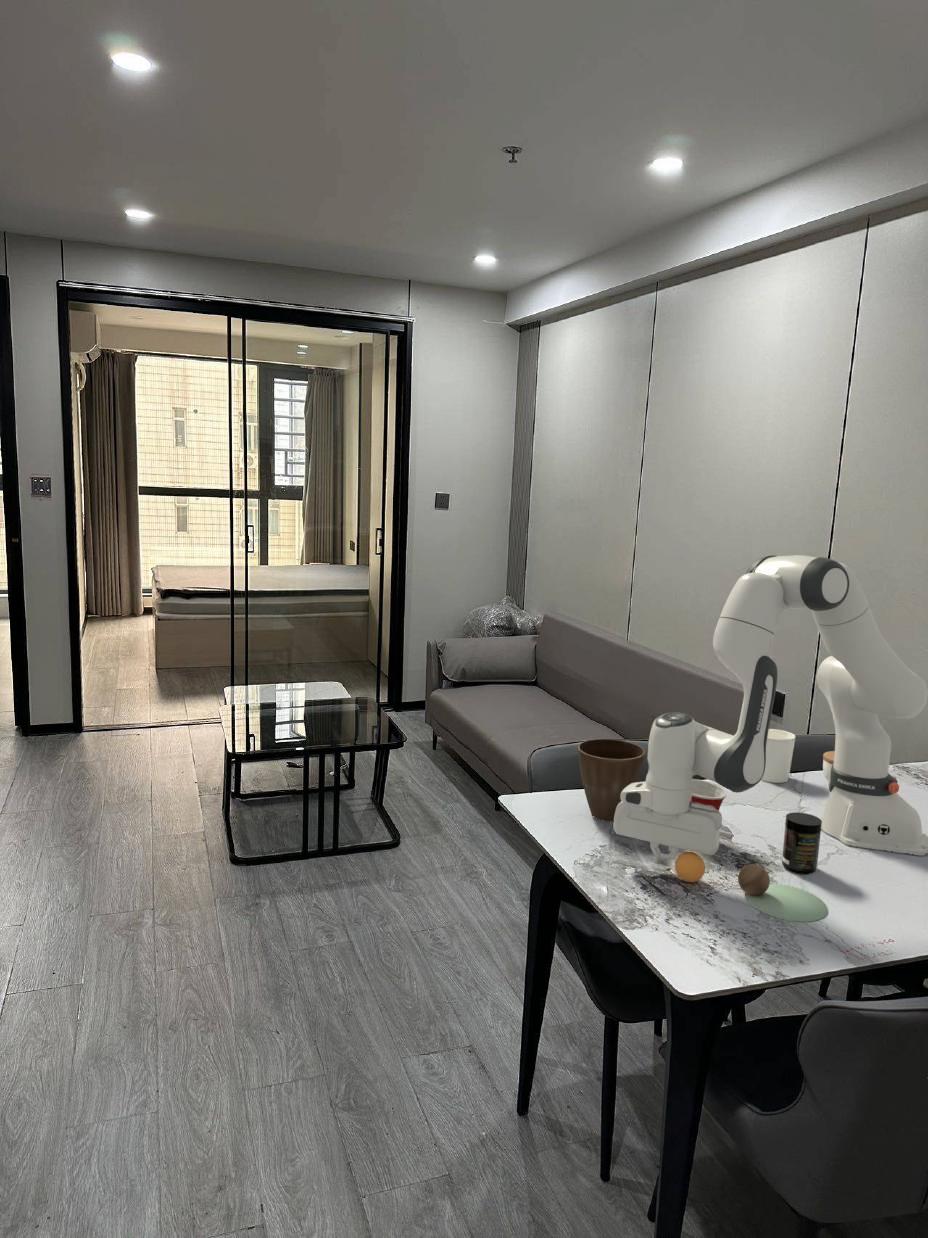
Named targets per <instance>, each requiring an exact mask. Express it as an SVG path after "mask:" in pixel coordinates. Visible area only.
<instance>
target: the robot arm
mask: <svg viewBox="0 0 928 1238" xmlns="http://www.w3.org/2000/svg"><path fill="white" fill-rule="evenodd" d="M853 572H854V571H852V569H851V568H850V567H849V566H848V565H847V564H845V563H843V562H839V561H836V560H834V559H832V558H828V557H822V556H821V557H820V556H819V557H815V556H810V555H803V554H801V555H800V554H794V555H767V556H763V557H759V558H758V559H756V560H754V562H752V563H751V565H750V566H749V567H748V569H746V572H745V574H743V575H741V576H740V577H739V578H738V579H737V581H736V583H734V585H733V588H732V589H731V590H730V593H729V595H728V596H727V598H726V601H725V603H724V606H723V608H722V610H721V613H720V616H719V618H718V621H717V624H716V627H715V629H714V633H713V637H712V646H713V650H714V653H715V655H716V657H717V658H718V660H719V661H720V663H722V665H723V666H725V668H726V669H727V670H729V671H730V673H733V675H735V676H736V677H737V678H738V679H739V681H740V683H741V686H742V688H743V699H742V703H741V704H742V705H741V711H740V715H739V720H738V721H739V722H738V726H737V731H736V733H735V734H734V735H733V734H730V733H727V732H725V731H721V730H719V729H716V728H713V727H710V726H707V725H705V724H702V723H699V722H697V721H695V719H694V718H693V716H691V715H690V714H688V713H683V712H678V711H677V712H666V713H663V714H661V715H658V716H656V718H655V719H654V720H653V722H652V725H651V729H650V734H649V737H648V744H647V745H648V747H647V756H646V757H647V759H646V760H647V763H648V770H647V774H646V776H645V781H638V782H636V783H631V784H630V785H628V786H627V787H625V788H624V789H623V791H622V792H621V795H620V799H621V802H620V803H619V804H618V805H617V808H616V811H615V816H614V822H613V824H612V825H613V826H612V827H613V830H614V832H615V834H616V835H620V836H624V837H628V838H634V839H637V840H640V841H641V840H642V841H647V842H650V843H649V844H650V845H649V847H650V849H651V851H652V853H653V855H654V864H655V865H658V866H659V865H660V866H663V867H667V868H670V867H671V866H672V861H673V857H674V855H676V853H677V851H678V850H679V849H680V850H684V851H688V852H693V853H696V854H703V855H708V856H713V855H714V854H715V853H716V852H717V851H719V847H720V828H721V827H722V824H723V823H722V821H723V816H722V813H721V811H720V810H719V811H718V810H717V809H715V807H714V806H711V805H704V804H700V803H696V802H692V801H691V800H692V787H693V781H692V779H693V776H697V775H698V777H702V778H704V779H706V780H709V781H710V782H711V781H712V782H714V783H716V784H717V785H719V786H720V787H722V788H724V789H726V790H729V791H731V792H733V793H742V792H746V791H748V790H750V789H752V788H754V787H755V786H756V785H757V784H759V783H760V782H761V781H762V780H761V779H762V777H763V775H764V772H765V765H766V743H767V737H768V731H769V729H770V726H771V719H772V714H773V708H774V702H775V697H776V692H777V691H776V690H777V686H778V685H777V684H778V676H779V675H778V666H777V665H776V662H775V661H774V660H773V651H772V650H773V642H774V639H775V636H776V633H777V630H778V626H779V623H780V620H781V615H782V613H783V612H784V611H785V610H790V611H791V610H792V611H793V610H800V611H809V610H810V611H811V614H812V618H813V620H814V622H815V624H816V627H817V630H818V632H819V635H820V637H821V640H822V643H823V645H824V647H825V650H826V651H827V652H828V654H829V656H828V657H826V658H825V659H823V661H822V662H821V663H820V665H819V667H818V669H817V673H816V683H817V686H818V689H819V690H820V691H821V692H822V693H823V695H824V697H825V698H826V700H827V703H828V705H829V708H830V712H831V714H832V719H833V723H834V731H835V732H834V733H835V739H834V740H835V741H834V742H835V744H834V751H835V754H834V765H832V767H831V770H830V776H829V782H828V791H829V794H828V797H827V803H826V806H825V808H824V811H823V814H822V816H821V818H820V819H821V820H822V827H821V831H823V832H825V833H827V834H828V835H830V836H832V837H834V838H836V839H837V840H839V841H841V842H842V843H843V844H845V845H847V846H850V845H851V847H856V846H858V847H857V848H865V849H870V848H871V849H872V850H878V851H884V850H886V852H891V851H893V852H892V853H900V854H905V853H909V854H908V855H912V854H914V856H920V857H921V856H926V855H927V854H926V853H928V833H927V832H925V831H924V830H923V825H922V821H921V817H920V814H919V813H918V811H917V810H916V809H915V808H914V807H913V806H912V805H911V804H909V802H907V801H906V800H905V799H904V798H903V797H902V796H900V794H898V792H899V791H900V785H899V784H898V779H897V777H896V775H894V776H893V775H891V774H890V773H889V770H890V769H889V768H890V761H891V759H890V758H891V751H892V740H891V738H890V736H889V734H888V733H887V731H885V729H884V727H883V725H882V724H881V723H880V720H879V718H878V716H881V717H885V718H890V719H901V720H910V719H912V718H915V717H916V716H917V715H919V714H920V713H921V712H922V711H923V709H924V708H925V706H926V704H927V702H928V688H927V687H928V686H927V684H926V682H925V680H924V679H923V678H922V677H921V676H919V675H918V674H917V673H915V671H913V670H912V669H910V668H909V667H908V666H907V665H906V663H904V662H903V661H902V660H901V658H900V657H899V656H898V654H897V653H896V652H895V651H894V650H893V648H892V647H891V646H890V645H889V643H888V641H887V640H886V639H885V637H884V636H883V634H882V632H881V631H880V628H879V626H878V624H877V622H876V620H875V619H876V618H875V616H874V614H873V611H872V608H871V606H870V603H869V601H868V598H867V595H866V594H865V591H864V590H863V587H862V585H861V584H860V581H859V580H858V579H857V577H856V574H854V573H853ZM714 811H716V812H714ZM660 845H663V846H667V847H668V851H669V852H670V853H669V854H665V853H662V852H661V850H660V848H659V846H660ZM852 845H854V846H852ZM925 854H926V855H925Z"/></svg>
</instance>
